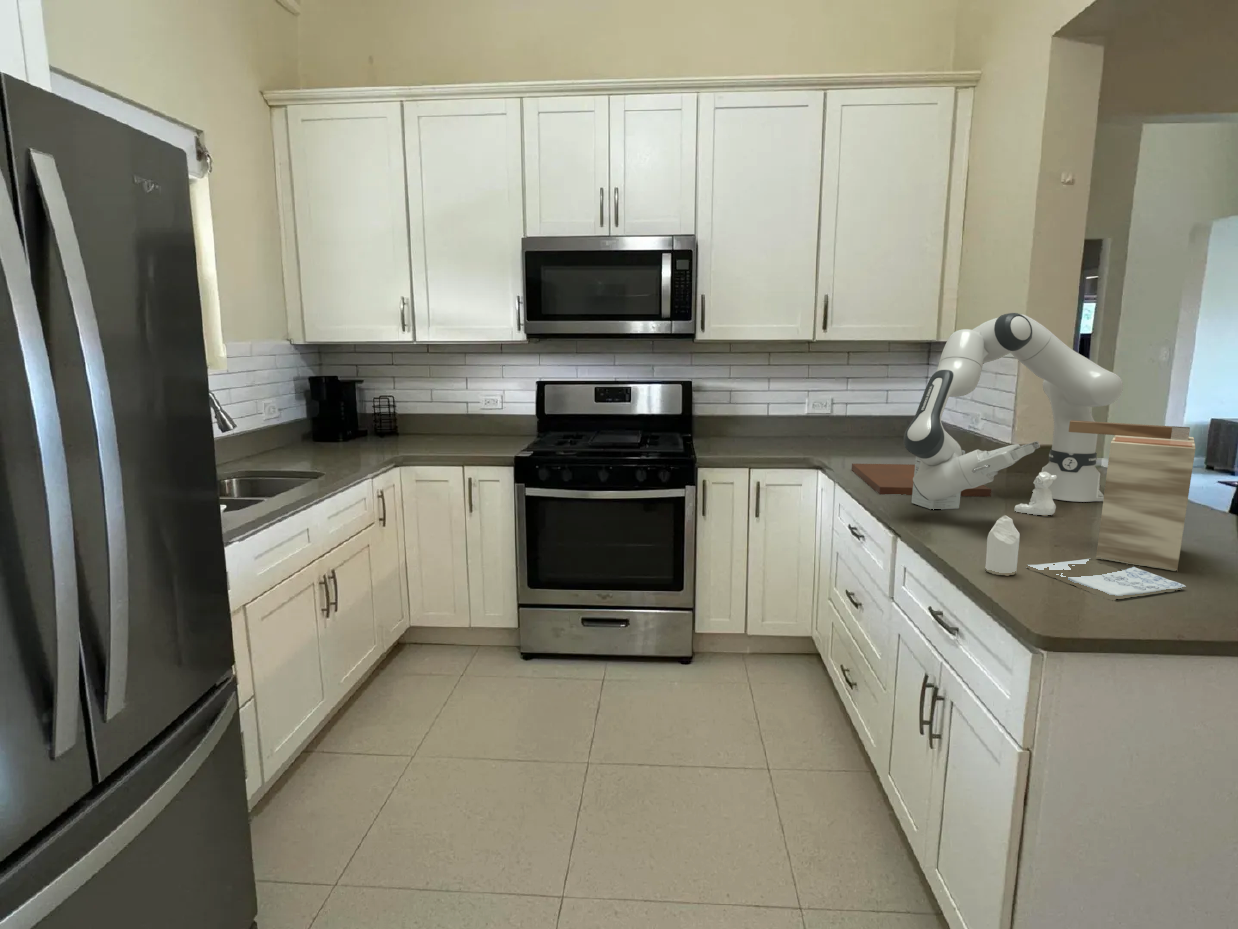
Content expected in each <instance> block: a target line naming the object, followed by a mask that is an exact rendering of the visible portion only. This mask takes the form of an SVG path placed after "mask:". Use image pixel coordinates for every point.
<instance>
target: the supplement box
mask: <svg viewBox="0 0 1238 929" xmlns="http://www.w3.org/2000/svg"><path fill="white" fill-rule="evenodd" d="M962 454H963V455H964V454H966V450H963V449H962ZM920 461H921V460H920V459H919V458H918V457H917V456H915V461H914V465H915V471H914V476H915V475H916V474H917V472H918V470H919V466H920ZM960 495H961V492H960V493H958V494H955V495H953V496H950V497H946V498H943V499H939V500H932V501H930V500H927V499H925V498H924V497H923V496H922V495H920V493H919V492H918V491H917V489H916V488H915V486H914V483H913V492H912V495H911V503H912V504H915V505H918V506H919V507H923V508H926V509H929V510H931V509H933V510H932V511H935V510H934V509H941V510H954V509H957V510H958V509H960V502H961V496H960Z"/></svg>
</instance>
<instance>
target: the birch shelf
mask: <svg viewBox="0 0 1238 929" xmlns="http://www.w3.org/2000/svg"><path fill="white" fill-rule="evenodd" d="M1109 445H1110V447H1109V453H1108V462H1107V468H1106V469H1107V470H1106V477H1105V485H1104V493H1103V495H1104V500H1103V501H1102V508H1101V509H1102V510H1101V514H1100V515H1101V516H1100V523H1099V524H1100V525H1099V533H1098V538H1097V547H1096V548H1097V549H1096V555H1095V558H1096V557H1101V558H1109V559H1115V560H1119V561H1124V562H1128V563H1134V564H1144V565H1149V566H1155V567H1164V568H1169V569H1175V570H1177V571H1178V567H1179V561H1180V556H1181V555H1180V554H1181V547H1182V542H1183V534H1184V527H1185V521H1186V514H1187V506H1188V501H1189V494H1190V487H1191V480H1192V476H1193V475H1192V473H1193V467H1194V460H1195V454H1196V443H1195V438H1194V437H1193V436H1189V439H1188V441H1187V440H1173V439H1163V438H1148V437H1134V436H1120V435H1113V438H1112V440H1111V441H1110V444H1109Z"/></svg>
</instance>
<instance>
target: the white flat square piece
mask: <svg viewBox="0 0 1238 929" xmlns="http://www.w3.org/2000/svg"><path fill="white" fill-rule="evenodd" d="M1089 559H1090V558H1085V559H1084V558H1083V559H1078V560H1076V559H1075V560H1069V561H1068V560H1067V561H1060V562H1051V563H1039V564H1027V565H1028V566H1030V567H1033V568H1036V569H1038V570H1044V568H1047V567H1049V570H1063V569H1064V570H1071V568H1070V567H1069V566H1068V564H1086V562H1087V561H1089ZM1053 564H1055V565H1053ZM1072 566H1075V565H1072ZM1121 570H1122V571H1117V572H1112V573H1107V574H1102V575H1093V576H1081V577H1068V580H1070V581H1072V582H1074V583H1079V584H1081V585H1084V586H1087V587H1090V588H1093V589H1098V590H1100V591H1103V592H1105V593H1107V594H1109V595H1115V596H1123V595H1135V594H1143V593H1150V592H1156V591H1161V590H1166V589H1178V588H1181V589H1183V588H1182V587H1186V588H1187V586H1186V585H1185V584H1183V583H1180V582H1178V581H1174V580H1170V579H1168V578H1166V577H1164V576H1161V575H1157V574H1154V573H1152V572H1149V571H1147V570H1144V569H1141V568H1137V566H1132V567H1129V568H1128V567H1127V568H1126V569H1121ZM1062 574H1063V573H1061V575H1060V576H1061V577H1066V576H1063V575H1062ZM1056 575H1059V574H1056Z"/></svg>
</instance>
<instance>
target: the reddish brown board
mask: <svg viewBox="0 0 1238 929" xmlns="http://www.w3.org/2000/svg"><path fill="white" fill-rule="evenodd" d="M851 471H852V472H853V473H855V474H856V476H858V477H859V478H860V479H861V480H863V482H865V484H867V485H868V486H869V485H870V488H872V489H873V490H874V491H875V492H876V491H877V492H878V493H877V492H876V493H877V494H879V495H885V494H901V495H900V496H904V495H903V494H906V495H905V496H912V492H913V477H914V471H915V464H913V463H911V464H909V463H908V464H906V463H904V464H902V463H896V464H895V463H851ZM960 497H986V498H987V497H988V498H990V497H992V488H990V487H988V486H987V485H985V484H983V485H981V486H978V487H975V488H970V489H965V490H963V491H961V495H960Z"/></svg>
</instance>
